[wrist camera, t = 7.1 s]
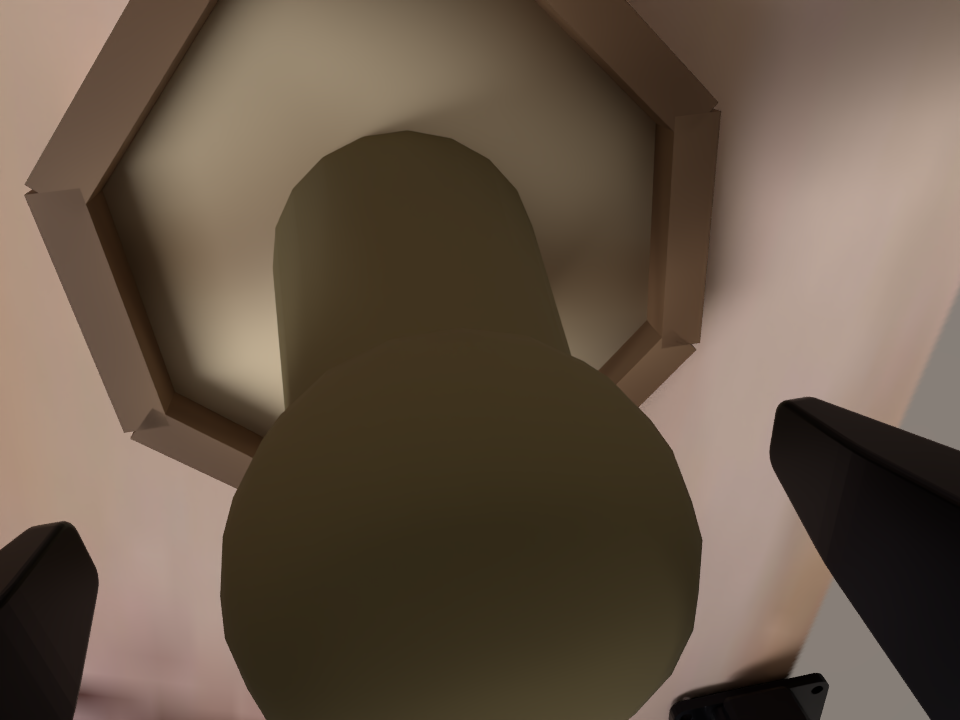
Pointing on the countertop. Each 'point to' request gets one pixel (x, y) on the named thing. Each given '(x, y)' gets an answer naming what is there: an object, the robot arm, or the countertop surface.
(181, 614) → the countertop surface
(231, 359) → the tray
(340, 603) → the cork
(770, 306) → the countertop surface
